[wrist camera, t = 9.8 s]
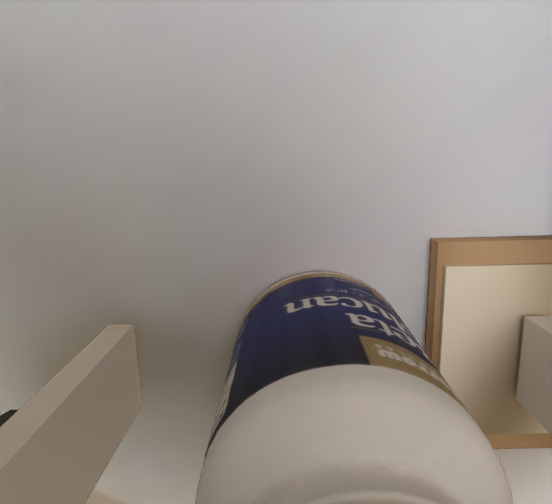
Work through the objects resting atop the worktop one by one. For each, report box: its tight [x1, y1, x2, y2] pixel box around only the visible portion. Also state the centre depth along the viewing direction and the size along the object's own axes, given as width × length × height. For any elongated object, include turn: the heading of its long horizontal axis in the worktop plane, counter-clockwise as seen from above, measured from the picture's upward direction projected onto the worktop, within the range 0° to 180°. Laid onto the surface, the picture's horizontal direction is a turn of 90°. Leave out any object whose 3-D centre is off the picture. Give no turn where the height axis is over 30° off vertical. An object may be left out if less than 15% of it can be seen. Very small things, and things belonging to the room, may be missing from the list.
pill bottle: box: [195, 271, 513, 504], centre depth 9 cm, size 5×5×10 cm
